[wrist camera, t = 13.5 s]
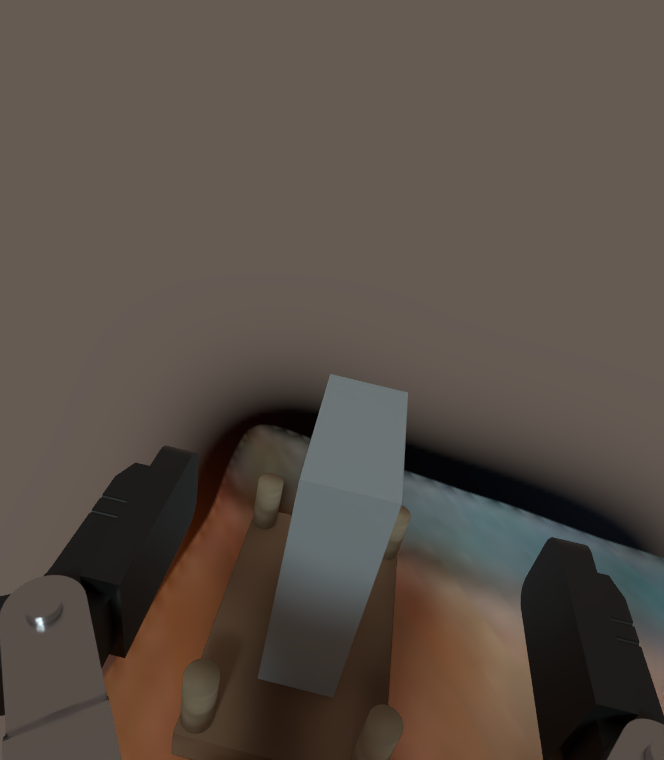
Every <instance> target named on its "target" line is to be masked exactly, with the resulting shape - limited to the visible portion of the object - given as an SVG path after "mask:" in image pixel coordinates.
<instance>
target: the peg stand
mask: <svg viewBox="0 0 664 760" xmlns="http://www.w3.org/2000/svg"><path fill="white" fill-rule="evenodd" d="M283 484H284V482H283V479H282V478H281V477H280V476H278V475H276V474H273V473H267V474H264V475H262V476H261V477H260V478H259V482H258V488H257V495H256V501H255V507H254V514H253V519H252V521H251V524H250V527H249V529H248V532H247V535H246V537H245V540H244V543H243V546H242V548H241V551H240V554H239V556H238V559H237V562H236V565H235V567H234V570H233V573H232V575H231V578H230V581H229V583H228V586H227V589H226V592H225V594H224V597H223V600H222V602H221V605H220V608H219V611H218V613H217V616H216V619H215V621H214V624H213V627H212V629H211V632H210V635H209V638H208V640H207V643H206V646H205V648H204V651H203V654H202V657H201V659H197V660H195V661H193V662H191V663H190V664H189V665H188V666H187V668H186V669H185V671H184V675H183V686H182V698H181V711H180V716H179V719H178V721H177V724H176V727H175V730H174V732H173V741H172V754H174V755H178V756H182V757H186V758H189V759H193V760H389V758H390V756H391V754H392V752H393V750H394V748H395V746H396V744H397V742H398V740H399V738H400V736H401V735H402V732H403V722H402V719H401V716H400V715H399V713H398V712H397V711H396V710H395V709H394V708H392V707H391V706H389V705H388V698H389V681H390V665H391V648H392V631H393V615H394V598H395V582H396V565H397V553H398V550H399V548H400V545H401V542H402V540H403V537H404V534H405V531H406V529H407V526H408V523H409V521H410V518H411V514H410V512H409V510H408V509H407V508H405V507H404V506H402V505H401V508H400V510H399V513H398V516H397V519H396V522H395V525H394V527H393V530H392V533H391V536H390V539H389V541H388V544H387V547H386V550H385V553H384V556H383V558H382V561H381V564H380V567H379V570H378V572H377V575H376V578H375V581H374V584H373V587H372V589H371V592H370V595H369V598H368V601H367V604H366V606H365V609H364V612H363V615H362V618H361V620H360V623H359V626H358V629H357V632H356V635H355V637H354V640H353V643H352V646H351V649H350V651H349V654H348V657H347V660H346V663H345V666H344V668H343V671H342V674H341V677H340V680H339V682H338V685H337V688H336V691H335V694H334V697H333V698H332V697H328V696H324V695H320V694H316V693H312V692H308V691H304V690H301V689H297V688H293V687H289V686H285V685H281V684H277V683H273V682H269V681H265V680H261V679H258V674H259V669H260V665H261V660H262V655H263V650H264V646H265V641H266V636H267V631H268V627H269V622H270V617H271V612H272V608H273V603H274V598H275V594H276V589H277V584H278V579H279V575H280V570H281V565H282V560H283V556H284V551H285V546H286V541H287V537H288V532H289V527H290V522H291V518H292V515H289V514H285V513H281V512H278V510H279V505H280V499H281V494H282V489H283Z"/></svg>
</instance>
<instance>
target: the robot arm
mask: <svg viewBox="0 0 664 760" xmlns="http://www.w3.org/2000/svg"><path fill="white" fill-rule="evenodd" d="M197 477H198V454H197V453H195V452H191V451H187V450H182V449H178V448H174V447H170V446H164V447H162V449H161V450H160V451H159V453H158V454H157V456H156V458H155V459H154V461H153V462H152V464H151V465H150V466H148V465H143V464H139V463H134V464H133V465H131V466H130V467H128V468H127V469H125V470H124V471H122V472H121V473H119V474H118V475H117V476H115V478H114V479H113V480H112V482H111V483H110V485H109V486H108V487H107V489H106V490H105V492H104V493H103V496H102V498H100V499H99V500H98V502H97V503H96V504H95V506H94V507H93V509H92V512H91V513H89V514H88V516H87V517H86V519H85V520H84V522H83V523H82V524H81V526H80V527H79V529H78V530H77V531H76V533H75V534H74V536H73V537H72V538H71V540H70V542H69V543H68V544H67V546H66V547H65V548H64V550H63V551H62V553H61V554H60V556H59V557H58V558H57V560H56V561H55V563H54V564H53V565H52V567H51V568H50V569H49V571H48V572H47V573H46V574H45V575H44V576H43V577H39V578H36V579H33V580H31V581H29V582H27V583H25V584H24V585H22V586H20V587H19V588H18V589H16V590H15V591H14V592H13V593H12V594H9V595H4V596H0V716H2V715H5V721H6V735H5V736H4V738H3V746H2V752H3V754H2V755H3V760H121V755H120V750H119V745H118V740H117V735H116V730H115V725H114V720H113V716H112V711H111V706H110V702H109V698H108V696H107V693H106V689H105V684H104V680H103V675H102V670H101V669H102V667H103V665H104V663H105V661H106V659H107V657H108V655H109V654H111V655H115V656H119V657H123V658H125V657H126V655H127V653H128V651H129V649H130V647H131V645H132V643H133V641H134V638H135V636H136V634H137V632H138V630H139V628H140V626H141V624H142V622H143V620H144V618H145V616H146V614H147V612H148V610H149V608H150V606H151V604H152V602H153V600H154V598H155V595H156V593H157V591H158V589H159V587H160V585H161V583H162V581H163V579H164V576H165V575H166V573H167V571H168V569H169V567H170V565H171V563H172V561H173V559H174V557H175V554H176V552H177V550H178V548H179V546H180V544H181V542H182V540H183V538H184V536H185V534H186V532H187V530H188V528H189V526H190V523H191V521H192V518H193V515H194V511H195V506H196V500H197ZM521 611H522V618H523V625H524V632H525V638H526V645H527V652H528V659H529V666H530V672H531V679H532V686H533V693H534V700H535V706H536V713H537V720H538V727H539V734H540V740H541V747H542V754H543V760H664V715H663V712H662V709H661V706H660V703H659V700H658V697H657V694H656V691H655V688H654V685H653V682H652V679H651V676H650V673H649V670H648V666H647V663H646V660H645V657H644V654H643V651H642V648H641V647H639V639H638V636H637V633H636V630H635V627H633V626H632V623H633V621H632V618H631V615H630V612H629V609H628V606H627V603H626V600H625V598H624V596H623V595H622V594H621V592H620V591H619V589H618V588H617V587H616V585H615V584H614V582H613V581H612V580H611V578H610V577H609V576H608V575H604V574H600V573H597V570H596V567H595V563H594V560H593V557H592V553H591V551H590V549H589V547H588V546H586V545H583V544H579V543H574V542H570V541H566V540H562V539H557V538H553V537H552V538H549V539H548V540H547V542H546V543H545V545H544V547H543V548H542V550H541V552H540V554H539V555H538V557H537V559H536V561H535V563H534V564H533V566H532V568H531V570H530V571H529V573H528V575H527V577H526V578H525V581H524V583H523V587H522V592H521Z"/></svg>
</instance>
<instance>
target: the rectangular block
mask: <svg viewBox="0 0 664 760" xmlns="http://www.w3.org/2000/svg"><path fill="white" fill-rule="evenodd" d="M407 400H408V393H407V392H403V391H399V390H394V389H390V388H386V387H382V386H378V385H374V384H369V383H365V382H361V381H357V380H353V379H349V378H344V377H340V376H336V375H332V374H330V377H329V381H328V384H327V388H326V391H325V395H324V398H323V401H322V405H321V408H320V411H319V415H318V419H317V422H316V425H315V429H314V432H313V435H312V439H311V442H310V446H309V449H308V452H307V456H306V459H305V463H304V466H303V469H302V473H301V476H300V480H299V485H298V489H297V494H296V499H295V504H294V508H293V513H292V518H291V522H290V527H289V532H288V537H287V541H286V546H285V551H284V556H283V560H282V565H281V570H280V575H279V579H278V584H277V589H276V594H275V598H274V603H273V608H272V612H271V617H270V622H269V627H268V631H267V636H266V641H265V646H264V650H263V655H262V660H261V665H260V669H259V674H258V679H261V680H265V681H269V682H273V683H277V684H281V685H285V686H289V687H293V688H297V689H301V690H304V691H308V692H312V693H316V694H320V695H324V696H328V697H332V698H333V697H334V694H335V691H336V688H337V685H338V682H339V680H340V677H341V674H342V671H343V668H344V666H345V663H346V660H347V657H348V654H349V651H350V649H351V646H352V643H353V640H354V637H355V635H356V632H357V629H358V626H359V623H360V620H361V618H362V615H363V612H364V609H365V606H366V604H367V601H368V598H369V595H370V592H371V589H372V587H373V584H374V581H375V578H376V575H377V572H378V570H379V567H380V564H381V561H382V558H383V556H384V553H385V550H386V547H387V544H388V541H389V539H390V536H391V533H392V530H393V527H394V525H395V522H396V519H397V516H398V513H399V510H400V508H401V505H402V490H403V472H404V453H405V436H406V418H407Z"/></svg>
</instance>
